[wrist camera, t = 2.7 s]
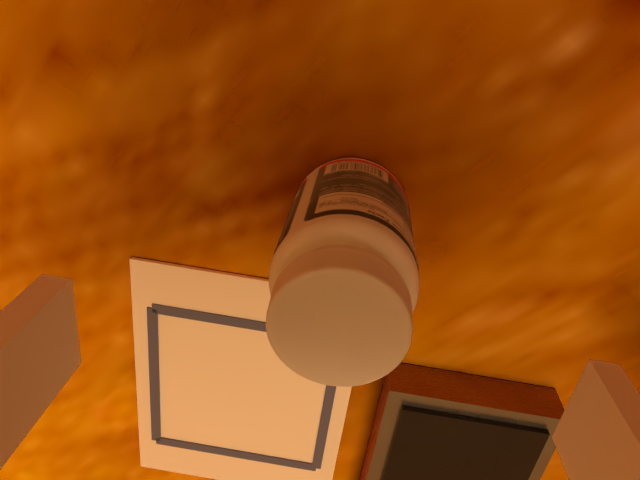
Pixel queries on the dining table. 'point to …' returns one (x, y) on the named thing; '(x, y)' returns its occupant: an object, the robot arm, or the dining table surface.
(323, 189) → the pill bottle
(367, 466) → the ink pad
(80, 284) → the dining table surface
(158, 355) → the print card
